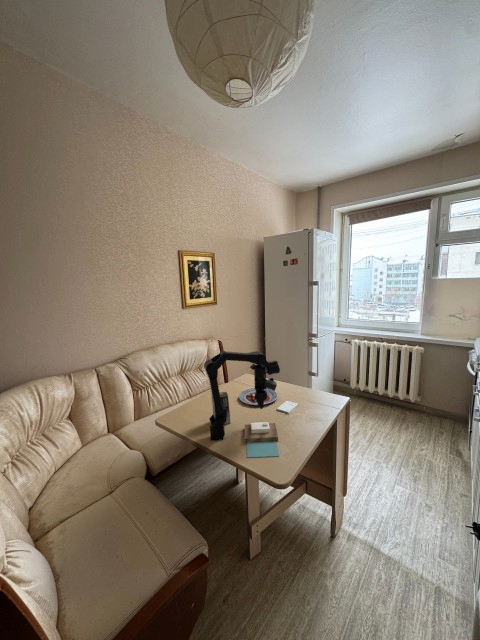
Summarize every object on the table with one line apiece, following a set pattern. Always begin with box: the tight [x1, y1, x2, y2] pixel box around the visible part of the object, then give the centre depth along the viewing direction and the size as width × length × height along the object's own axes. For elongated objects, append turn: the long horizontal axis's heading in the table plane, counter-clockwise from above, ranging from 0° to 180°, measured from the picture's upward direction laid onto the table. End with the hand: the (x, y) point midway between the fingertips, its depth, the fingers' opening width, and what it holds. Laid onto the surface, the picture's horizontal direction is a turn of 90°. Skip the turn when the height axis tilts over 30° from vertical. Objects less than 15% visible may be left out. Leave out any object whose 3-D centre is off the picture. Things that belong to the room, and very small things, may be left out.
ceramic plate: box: [238, 387, 279, 406], centre depth 163 cm, size 26×26×3 cm
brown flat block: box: [244, 422, 279, 444], centre depth 122 cm, size 16×12×2 cm
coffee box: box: [211, 391, 232, 425], centre depth 136 cm, size 9×6×16 cm
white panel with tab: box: [250, 421, 270, 433], centre depth 123 cm, size 9×6×3 cm, turn 89°
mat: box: [246, 441, 280, 459], centre depth 111 cm, size 14×10×1 cm
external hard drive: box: [276, 400, 299, 415], centre depth 148 cm, size 2×8×12 cm
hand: (261, 404), depth 128 cm, fingers open, 9 cm apart
